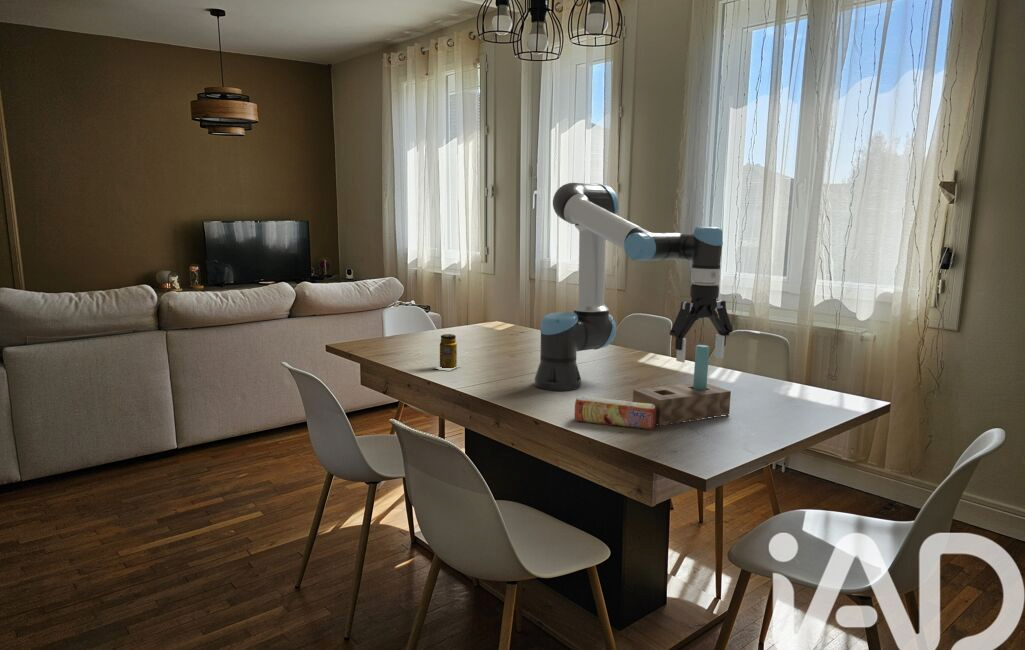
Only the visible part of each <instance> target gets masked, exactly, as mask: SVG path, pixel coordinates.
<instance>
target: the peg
mask: <svg viewBox="0 0 1025 650" xmlns="http://www.w3.org/2000/svg"><path fill="white" fill-rule="evenodd" d="M694 354H695V355H694V356H695V357H694V370H693V382H692V383H693V390H696V391H703V390H706V387H707V384H708V371H709V369H708V368H709V359H710V358H709V357H710V346H709V345H705V344H697V345H695V353H694Z"/></svg>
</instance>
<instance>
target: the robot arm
mask: <svg viewBox="0 0 1025 650" xmlns="http://www.w3.org/2000/svg"><path fill="white" fill-rule="evenodd" d="M619 206H620V205H619V198H618V195H617V193H616V192H615V190H614V189H613V188H612V187H610V186H609V185H606V184H601V183H588V182H587V183H585V182H584V183H583V182H582V183H581V182H569V183H568V182H567V183H565V184H562V185H561V186H560V187H559V188H558V189H557V190H556V192H555V193H554V195H553V198H552V207H553V210H554V213H555V215H556V216H558V217H559V218H560V219H561V220H563V221H565V222H567V223H568V224H571V225H574V227H575V228H576V229H577V230H578V232H579V233H578V234H579V236H578V237H579V238H578V303H577V304H576V305H575V307H574V308H573V311H559V312H557V311H556V312H551V313H548V314H546V315H544V316H543V317H542V319H541V322H540V329H539V333H540V357H539V358H540V359H539V360H540V362H539V364H538V367H537V370H536V373H535V376H534V379H533V380H534V382H533V383H534V386H535V387H537V388H539V389H542V390H548V391H560V392H561V391H573V390H577V389H579V388H581V387H582V378H581V375H580V371H579V368H578V364H577V352H583V351H589V350H599V349H602V348H606V347H608V346H609V345H610V344H611V343H613V340H614V339H615V337H616V334H617V333H616V332H617V324H616V321H615V320H614V318H613V315H611V314H610V310H609V309H610V308H609V307H607V305H606V304H605V297H606V294H605V292H606V290H605V286H606V245H607V244H606V241H607V242H610V243H612V244H614V245H615V246H617V247H619V248H621V249H622V250H624V253H625V254H626V256H627V257H628V258H629V260H632V261H637V262H646V261H671V260H672V261H673V260H674V261H676V260H680V261H681V260H683V261H690V262H691V274H690V275H691V276H690V281H691V282H692V283H691V284H690V290H689V291H690V292H689V293H690V294H689V296H690V299H691V301H690V302H687V301H681V303H680V310H679V311H678V314H677V316H676V318H675V320H674V323H673V325H672V327H671V329H670V330H669V331H670V332H669V335H670V336H672V337H674V338H675V347H674V348H675V350H676V358H675V359H676V362H679V363H680V362H681V363H683V364H684V363H686V351H687V350H686V348H687V338H685V337H686V335H687V333H689V331H690V329H691V328H692V327H693V325H694V324H695V322H696V321H697V320H699V319H704V318H708V319H709V320H710V322H711V324H712V325H713V328H715V330H716V331H717V333H718V334H715V342H714V344H715V345H714V358H717V359H721V360H722V359H724V349H725V347H726V345H727V343H726V342H727V337H729V336H730V334H731V333H733V326H732V324H731V321H730V317H729V314H728V311H727V305H726V304H727V303H726V300H722V299H721V300H720V299H719V296H720V295H719V292H720V286H719V283H720V280H721V259H722V251H723V245H724V242H723V229H722V228H721V227H718V226H696V227H694V231H693V233H687V232H677V231H676V232H675V231H669V232H650V231H648V230H647V229H644V228H642V227H641V226H639V225H637V224H635V223H633V222H631V221H629V220H627V219H625V218H623V217H621V216H620V215H617V214H618V212H619Z"/></svg>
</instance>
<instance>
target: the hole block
mask: <svg viewBox="0 0 1025 650" xmlns="http://www.w3.org/2000/svg"><path fill="white" fill-rule="evenodd" d="M632 392H633V394H632V402H637V403H648V404H654V405H655V407H656V424H658V425H663V426H666V425H665V424H670V425H672V424H671V423H677V422H683V421H689V420H697V419H702V418H708V417H714V416H721V415H728V414H729V415H730V409H731V407H730V406H731V392H732V391H731V390H727V389H725V388H721V387H719V386H715V385H712V384H709V383H707V387H706V390H703V391H696V390H693V382H688V383H678V384H669V385H662V386H655V387H654V386H652V387H645V388H636V389H635V388H634V389H633V391H632ZM697 421H698V420H697ZM656 424H655V425H656ZM677 424H678V423H677ZM658 425H657V426H658Z"/></svg>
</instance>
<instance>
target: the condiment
mask: <svg viewBox="0 0 1025 650" xmlns="http://www.w3.org/2000/svg"><path fill="white" fill-rule="evenodd" d="M456 337H457V336H456V335H455V334H452V333H451V334H450V333H449V334H448V333H446V334H441V335H440V343H439V366H440V367H442V368H454V367H456V366H457V362H458V361H457V358H458V357H457V355H458V352H457V351H458V348H457V347H458V345H457V342H456V340H457V339H456Z"/></svg>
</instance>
